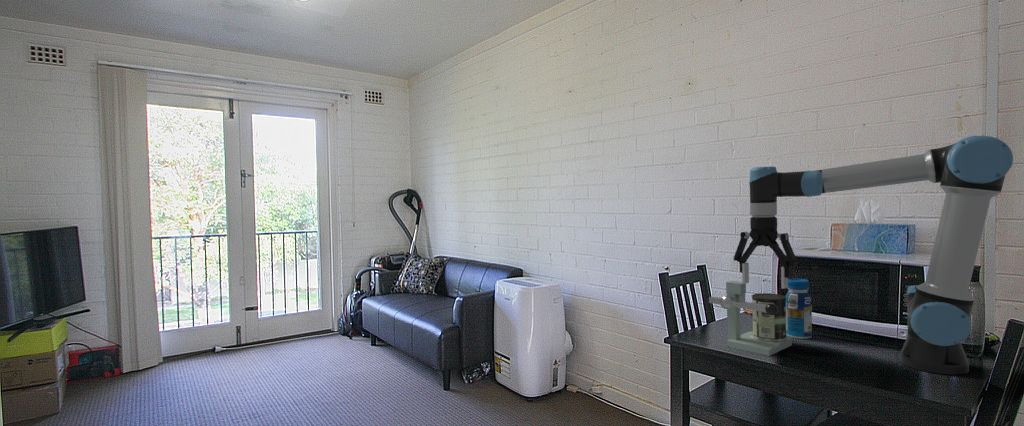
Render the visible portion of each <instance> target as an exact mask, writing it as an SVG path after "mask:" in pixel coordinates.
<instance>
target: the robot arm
mask: <svg viewBox="0 0 1024 426" xmlns="http://www.w3.org/2000/svg"><path fill="white" fill-rule="evenodd" d="M1013 162H1014V155H1013V151H1012V149H1011V148H1010V147H1009V146H1008V144H1007V143H1006V142H1004V141H1003V140H1001V139H1000V138H997V137H994V136H988V135H983V134H982V135H973V136H972V135H971V136H967V137H964V138H962V139H960V140H959V141H956V142H954V143H952V144H950V145H946V146H942V147H938V148H930V149H928V150H926V152H925V153H923V154H915V155H909V156H902V157H895V158H889V159H883V160H876V161H870V162H863V163H856V164H850V165H844V166H836V167H830V168H829V167H828V168H823V169H816V170H805V171H803V170H799V171H788V172H778V170H777V167H776V166H755V167H752V168H750V171H749V182H748V183H749V202H750V203H749V215H750V216H751V217H750V218H749V220H750V221H749V222H750V223H749V225H750V230H749V231H750V232H749V231H741V232H740V239H739V243H738V245H737V248H736V251H735V254H734V256H733V261H734V262H735V261H736V262H738V263H739V273H741V276H742V279H741V280H742V281H741V282H742V284H748V283H750V273H749V272H750V263H749V262H748V260H749V258H750V256H751V255H752V254H753V252H754V251H755V249H756V248H758V247H769V248H770V249H771V250H772V251H773V253H774V254H775V255H776V257H777V259H778V261H780V263H781V265H783V266H780V270H781V271H780V276H781V277H780V281H781V282H780V284H781V287H780V289H782V290H783V289H784V290H785V289H788V279H790V278H791V277H792V275H791V274H792V267H793V266H795V265H796V266H797V265H798V264H799V263H798V260H797V257H796V255H795V252H794V250H793V248H792V245H791V243H790V240H789V233H788V232H785V233H784V232H783V233H779V232H778V218H777V215H778V202H777V201H778V198H779V197H780V198H784V197H786V198H790V197H791V198H792V197H795V198H796V197H807V198H810V197H819V196H821V195H822V194H827V193H835V192H844V191H852V190H859V189H868V188H869V189H870V188H875V187H885V186H892V185H901V184H907V183H916V182H925V181H926V182H927V181H929V182H930V183H932V184H937V183H940V184H939V187H940V188H941V189H942V191H943V192H945V196H944V200H943V204H942V205H943V206H942V209H941V214H940V217H939V222H938V226H937V232H936V236H935V237H934V243H933V247H932V252H931V256H930V260H929V261H930V262H929V265H928V269H927V274H926V277H925V281H924V282H923V283H920V284H918V285H913V284H912V285H909V286H908V287H907V292H906V298H907V305H906V306H907V309H906V310H907V313H906V314H907V337H906V339H905V341H904V343H903V346H902V348H901V351H900V352H899V359H900V362H901V363H902V364H903V365H905V366H906V367H909V368H913V369H914V370H919V371H923V372H928V373H934V374H940V375H941V374H942V375H952V376H953V375H955V376H956V375H957V376H958V375H965V374H968V373H969V372H970V362H969V360H968V357H967V355H966V352H965V350H964V347H963V345H962V342H964V341H965V340H966V339H967V338H968V336H969V335H970V332H971V331H972V322H971V314H972V311H973V306H974V302H975V297H974V296H973V295H972V294H971V293H970V291H969V290H970V289H969V288H970V284H971V280H972V277H973V272H974V269H975V265H976V264H975V263H976V260H977V256H978V253H979V249H980V245H981V240H982V236H983V233H984V232H983V231H984V228H985V224H986V220H987V217H988V215H987V214H988V212H989V208H990V203H991V201H992V199H993V198H994V197H996V196H998V195H999V194H1002V191H1003V190H1002V189H1003V186H1004V184H1005V183H1004V182H1005V178H1006V175H1007V174H1008V172H1009V171H1010V170H1011V168H1012V167H1013V164H1014V163H1013ZM749 238H751V242H749V244H748V247H747V248H746V245H747V243H748V240H749ZM777 239H778V240H780V243H781V245H782V248H783V250H784V251H783V250H782V249H781V247H780V244H779V243H778V242H777ZM745 248H746V249H745Z"/></svg>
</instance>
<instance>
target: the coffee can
mask: <svg viewBox="0 0 1024 426" xmlns="http://www.w3.org/2000/svg"><path fill="white" fill-rule="evenodd" d="M785 296H786V295H782V294H778V293H767V292H763V293H761V292H760V293H754V294H752V295H751V298H752V300H751V301H752V302H751V303H757V304H763V305H768V304H775V305H776V306H777V307H778V312H777V314H775V315H769V314H767V313H766V312H762V311H756V310H752V332H753V337H754V338H756V339H759V340H763V341H771V342H779V341H785V340H786V339H787V338H786V336H787V335H786V297H785Z"/></svg>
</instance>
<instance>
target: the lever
mask: <svg viewBox="0 0 1024 426" xmlns="http://www.w3.org/2000/svg"><path fill="white" fill-rule="evenodd" d="M708 303H709V304H715V305H720V307H722V308H721V309H724V310H727V309H729V308H732V307H738V308H740V309H745V310H751V311H753V310H756V311H762V312H766V313H767V314H769V315H775V314H777V312H778V307H777V306H776V305H775V304H768V305H763V304H757V303H752V302H749V301H745V302H744V301H737V300H734V299H733V298H732V297H731V296H727V295H726V296H723V297H716V296H710V297H708Z"/></svg>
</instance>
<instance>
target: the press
mask: <svg viewBox="0 0 1024 426" xmlns="http://www.w3.org/2000/svg"><path fill="white" fill-rule="evenodd" d="M746 284H747V283H746ZM746 284H742V281H735V280H729V281H726V282H725V289H726V290H725V292H726V296H731V297H732V298H733V299H734V300H737V301H744V302H746V294H747V285H746ZM726 316H727V317H726V318H727V319H726V321H727V322H726V323H727V333H726V334H727V339H726V347H727V346H729V347H728V348H732V349H737V350H741V351H745V352H750V353H754V354H758V355H762V356H768V357H770V356H773V355H774V354H776V353H779V352H780V351H783V350H786V349H787V348H789V347H791V346H793V341H792V340H793V337H789V336H787V335H786V338H787V339H786V340H785V341H779V342H771V341H763V340H759V339H756V338H754V337H753V330H752V331H751V330H750V331H747V332H745V333H741V308H738V307H732V308H729V309H726Z"/></svg>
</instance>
